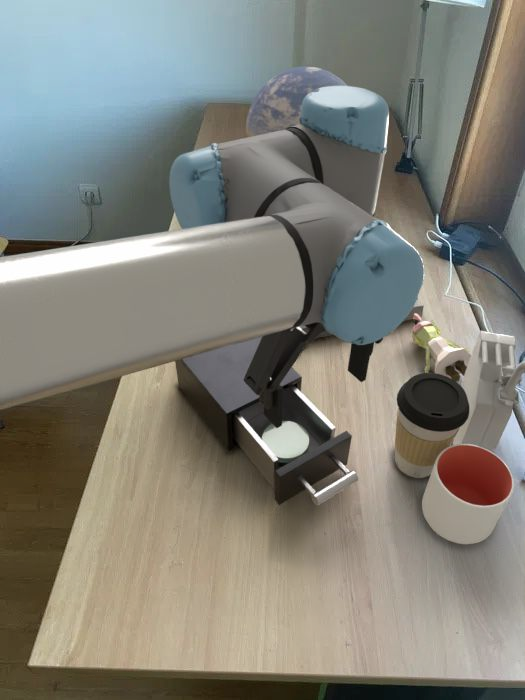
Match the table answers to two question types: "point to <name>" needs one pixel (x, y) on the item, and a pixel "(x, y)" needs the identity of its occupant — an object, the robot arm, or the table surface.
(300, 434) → the plate
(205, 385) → the cabinet
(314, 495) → the drawer
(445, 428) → the coffee cup
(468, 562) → the table surface
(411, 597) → the table surface
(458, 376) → the figurine
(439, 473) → the cup
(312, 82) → the sphere
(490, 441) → the jerry can
